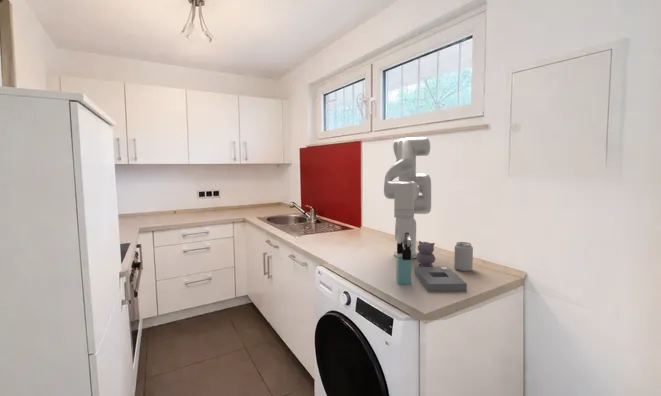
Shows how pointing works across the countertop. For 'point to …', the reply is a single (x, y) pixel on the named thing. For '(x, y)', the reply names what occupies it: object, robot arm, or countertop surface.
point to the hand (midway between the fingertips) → (403, 256)
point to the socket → (440, 279)
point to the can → (463, 256)
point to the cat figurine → (425, 254)
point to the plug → (403, 271)
